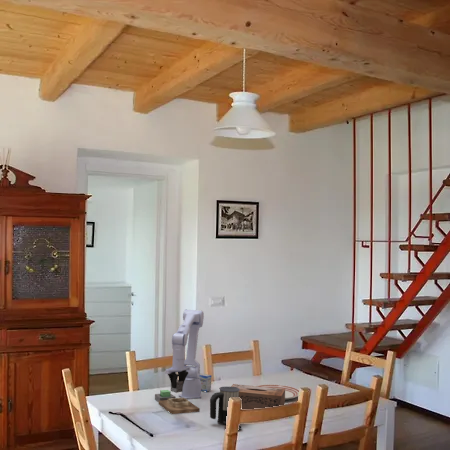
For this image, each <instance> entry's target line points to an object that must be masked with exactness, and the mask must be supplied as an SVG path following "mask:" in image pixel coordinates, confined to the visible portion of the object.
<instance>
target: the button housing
mask: <svg viewBox="0 0 450 450" xmlns="http://www.w3.org/2000/svg"><path fill="white" fill-rule="evenodd" d="M171 398H177V397H176V396H175V395H174V394H173V393H171V394H170V397H162V396H160V393H155V394H154V400H155V401H156V402H158V403H159V401H163V400H168V399H171Z"/></svg>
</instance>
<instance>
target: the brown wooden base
mask: <svg viewBox="0 0 450 450" xmlns="http://www.w3.org/2000/svg"><path fill="white" fill-rule="evenodd" d="M158 405H159V406H160V407H162V408H163V409H164V410H165V411H166V412H168V411H169V412H170V413H172V414H171V415H177V414H189V413H200V408H199V407H198V406H196V405H195V404H193V403H192V402H191V401H190V400H188V399H185V398H182V397H176V398H171V399H168V400H163V401H159V402H158ZM169 412H168V413H169ZM170 413H169V414H170Z"/></svg>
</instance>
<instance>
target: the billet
mask: <svg viewBox="0 0 450 450" xmlns="http://www.w3.org/2000/svg"><path fill="white" fill-rule="evenodd" d="M182 391H183V381H181V380H179V379H177V384H176V388H172V385H171V384H170V392H172V393H176V394H177V393H182Z"/></svg>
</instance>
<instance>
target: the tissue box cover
mask: <svg viewBox="0 0 450 450" xmlns="http://www.w3.org/2000/svg"><path fill="white" fill-rule="evenodd" d="M230 387H236V388H239V389H240V390H239V397H240V398H241V399H242V409H254V408H265V407H273V406H279V405H284V404H285V405H286V402H285V401H286V400H285V389H280V388H269V387H259V386H257V385H245V384H237V383H235V384H234V383H233V384H232V385H231V386H230Z"/></svg>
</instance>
